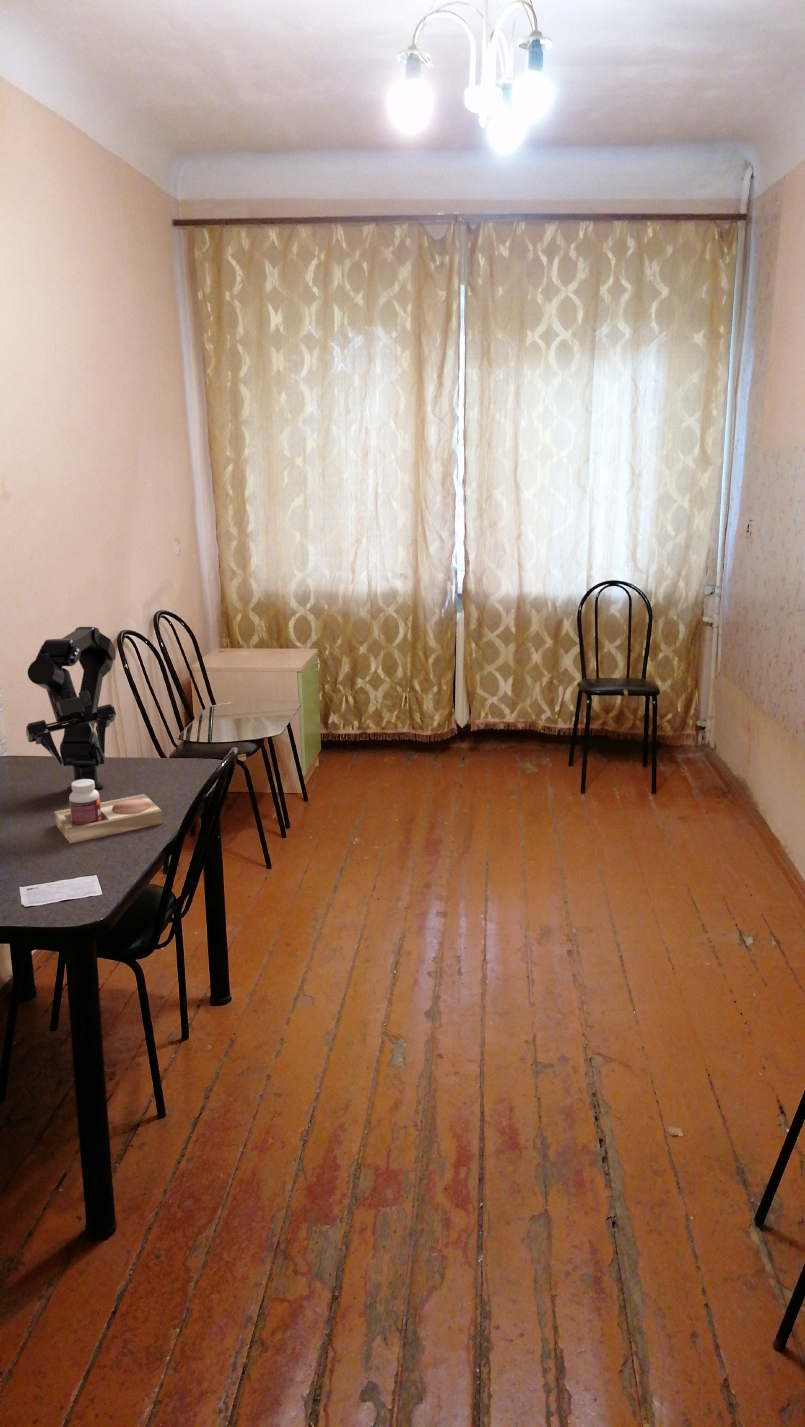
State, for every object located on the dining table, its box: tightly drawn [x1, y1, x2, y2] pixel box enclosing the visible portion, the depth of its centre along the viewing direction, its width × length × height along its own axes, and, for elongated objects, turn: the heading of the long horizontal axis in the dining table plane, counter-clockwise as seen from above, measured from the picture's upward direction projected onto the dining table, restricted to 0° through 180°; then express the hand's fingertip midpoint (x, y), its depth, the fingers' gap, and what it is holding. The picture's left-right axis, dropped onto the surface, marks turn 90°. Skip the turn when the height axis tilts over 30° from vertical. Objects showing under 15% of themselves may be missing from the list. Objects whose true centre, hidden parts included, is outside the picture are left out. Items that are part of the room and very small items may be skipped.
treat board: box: [53, 793, 164, 844], centre depth 210 cm, size 12×20×3 cm, turn 123°
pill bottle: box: [68, 779, 102, 827], centre depth 205 cm, size 6×6×11 cm
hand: (82, 759), depth 209 cm, fingers open, 9 cm apart
